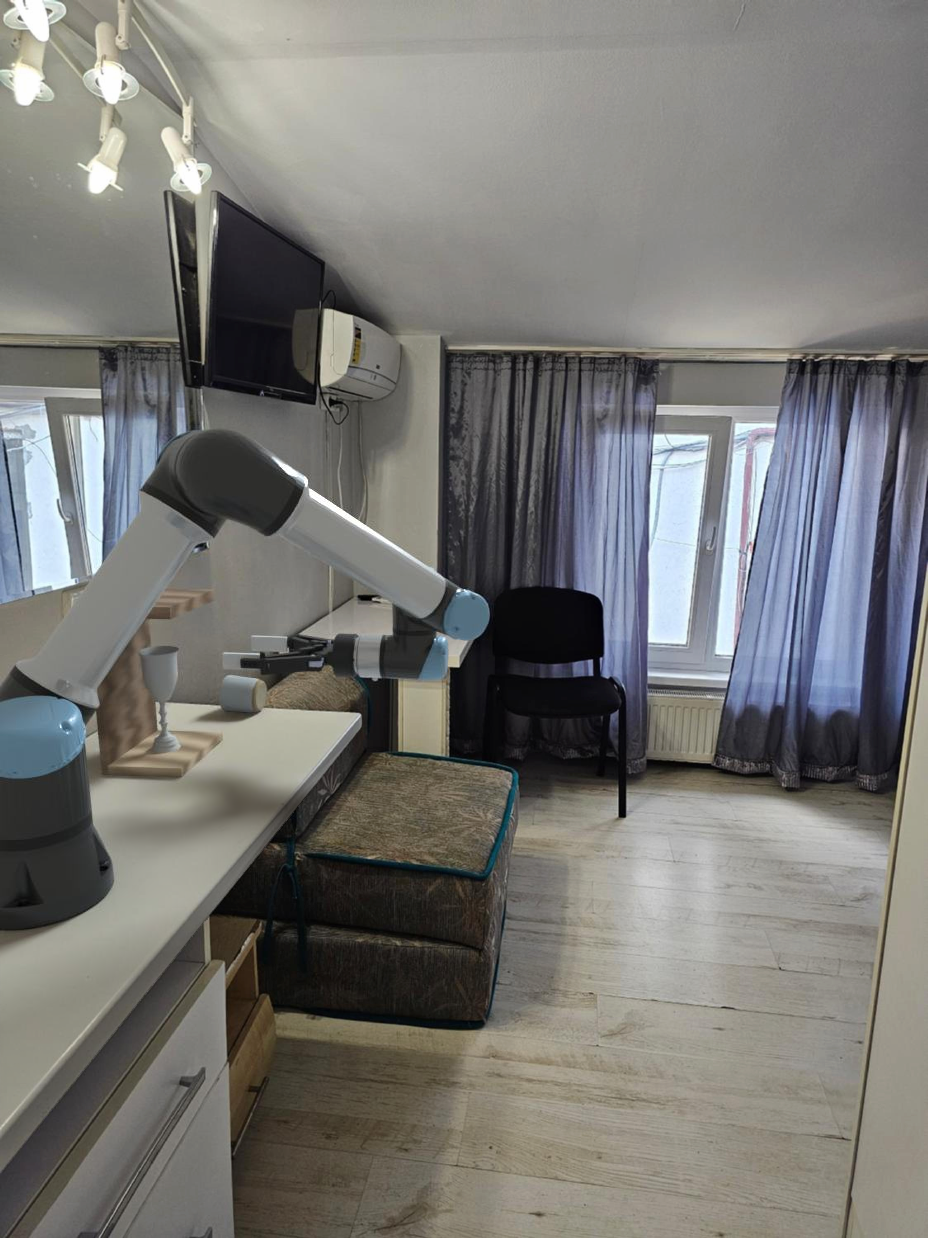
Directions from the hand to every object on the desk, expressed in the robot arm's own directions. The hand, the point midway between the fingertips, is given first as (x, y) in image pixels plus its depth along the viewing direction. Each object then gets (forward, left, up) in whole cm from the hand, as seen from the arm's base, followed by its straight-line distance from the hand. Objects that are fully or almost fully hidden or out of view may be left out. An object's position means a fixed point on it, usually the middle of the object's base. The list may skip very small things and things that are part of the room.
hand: (238, 651), depth 133 cm
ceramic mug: (+19, +22, -20) cm, 35 cm away
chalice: (-7, +12, -18) cm, 23 cm away
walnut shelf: (-7, +12, -20) cm, 24 cm away
